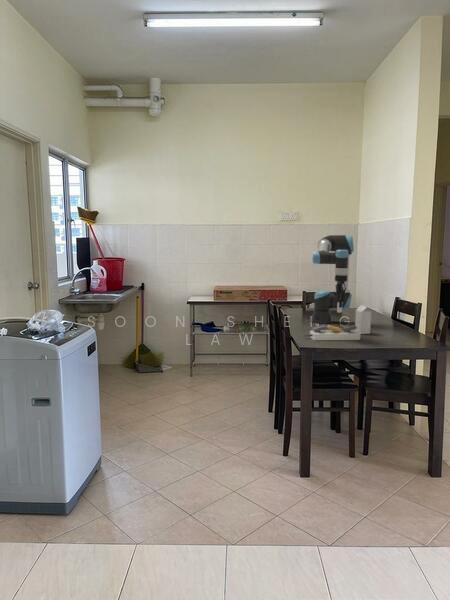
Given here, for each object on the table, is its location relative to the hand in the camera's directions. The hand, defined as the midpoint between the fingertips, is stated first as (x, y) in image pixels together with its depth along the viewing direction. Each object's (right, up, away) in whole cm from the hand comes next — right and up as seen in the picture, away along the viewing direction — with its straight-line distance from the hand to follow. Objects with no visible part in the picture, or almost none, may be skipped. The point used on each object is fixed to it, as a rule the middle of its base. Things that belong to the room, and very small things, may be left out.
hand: (339, 312), depth 272 cm
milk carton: (+19, -14, +16) cm, 29 cm away
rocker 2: (+6, -10, +2) cm, 12 cm away
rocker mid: (-3, -10, +1) cm, 11 cm away
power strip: (-5, -16, 0) cm, 17 cm away
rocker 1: (-13, -10, +1) cm, 16 cm away
